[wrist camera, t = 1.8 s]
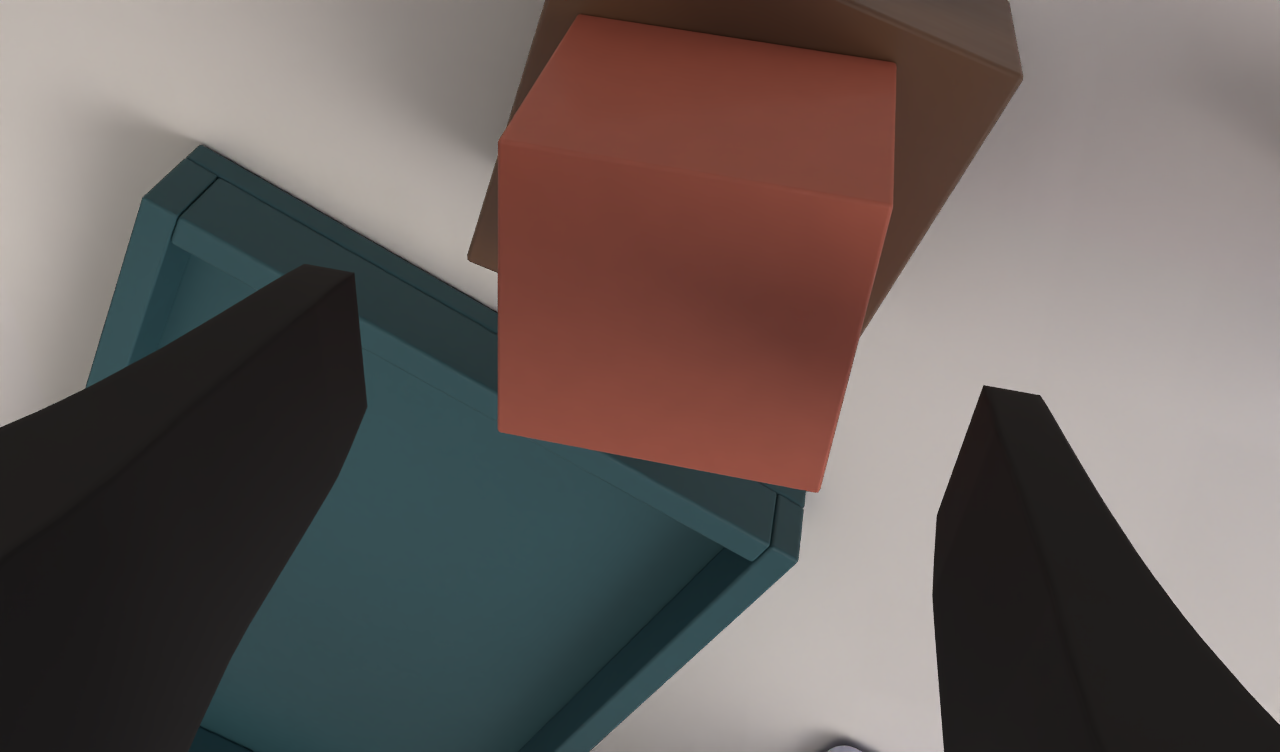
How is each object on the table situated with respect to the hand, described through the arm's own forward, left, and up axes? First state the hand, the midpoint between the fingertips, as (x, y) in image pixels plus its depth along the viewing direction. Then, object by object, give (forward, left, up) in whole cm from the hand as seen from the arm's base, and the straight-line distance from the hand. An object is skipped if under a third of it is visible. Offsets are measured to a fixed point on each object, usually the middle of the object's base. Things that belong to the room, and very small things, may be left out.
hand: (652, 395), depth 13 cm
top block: (0, 0, -5) cm, 5 cm away
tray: (+1, +17, -8) cm, 19 cm away
